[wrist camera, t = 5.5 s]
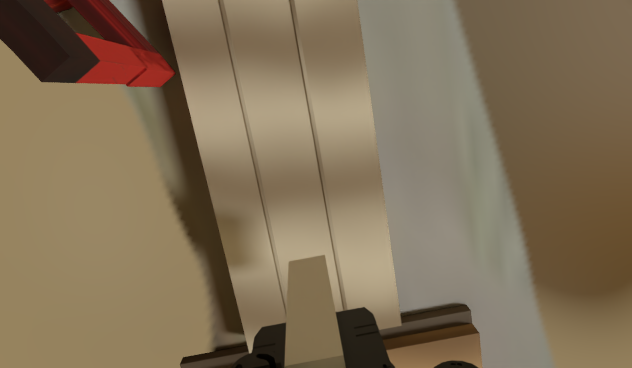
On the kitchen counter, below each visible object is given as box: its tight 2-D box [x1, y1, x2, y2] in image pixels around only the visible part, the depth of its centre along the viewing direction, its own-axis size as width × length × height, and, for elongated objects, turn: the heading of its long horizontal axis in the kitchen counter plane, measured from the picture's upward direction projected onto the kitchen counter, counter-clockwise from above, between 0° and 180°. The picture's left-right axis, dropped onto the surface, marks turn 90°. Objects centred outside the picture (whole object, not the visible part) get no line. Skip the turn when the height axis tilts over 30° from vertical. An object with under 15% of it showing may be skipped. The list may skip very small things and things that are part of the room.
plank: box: [162, 0, 402, 353], centre depth 20 cm, size 18×8×2 cm, turn 10°
